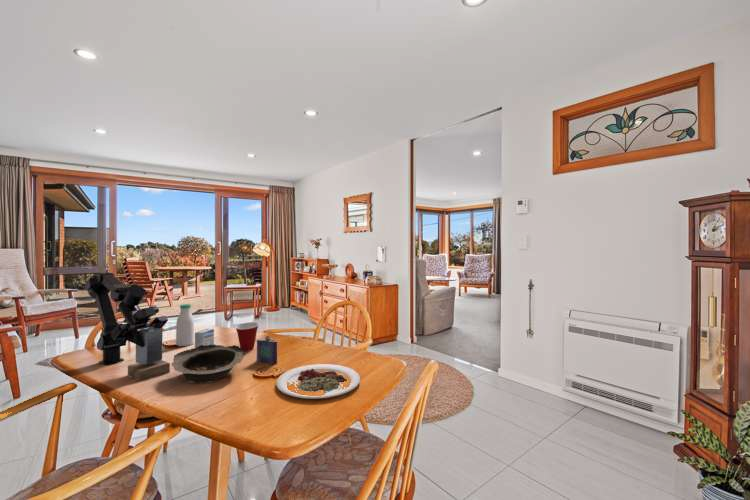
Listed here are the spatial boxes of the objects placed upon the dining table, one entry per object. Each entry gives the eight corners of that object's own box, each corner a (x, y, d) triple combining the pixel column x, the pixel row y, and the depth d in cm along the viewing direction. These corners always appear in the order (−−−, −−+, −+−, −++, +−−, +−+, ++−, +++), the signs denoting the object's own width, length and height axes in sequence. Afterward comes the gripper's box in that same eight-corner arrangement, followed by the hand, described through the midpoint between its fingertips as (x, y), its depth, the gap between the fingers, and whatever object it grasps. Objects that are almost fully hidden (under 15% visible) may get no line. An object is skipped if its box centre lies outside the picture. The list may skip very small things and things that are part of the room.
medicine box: (202, 351, 152) (202, 332, 152) (194, 350, 153) (194, 332, 153) (214, 346, 160) (214, 328, 160) (206, 345, 161) (206, 328, 161)
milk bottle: (197, 343, 164) (197, 304, 164) (181, 347, 157) (181, 306, 157) (188, 341, 168) (189, 302, 168) (172, 344, 161) (173, 304, 161)
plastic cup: (231, 348, 157) (231, 324, 157) (253, 344, 164) (253, 320, 164) (239, 354, 149) (239, 328, 149) (262, 349, 156) (262, 324, 156)
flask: (255, 361, 140) (255, 335, 140) (259, 359, 143) (260, 333, 143) (274, 365, 136) (275, 337, 136) (279, 362, 139) (279, 335, 139)
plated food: (337, 410, 100) (337, 399, 100) (257, 393, 110) (257, 383, 110) (371, 375, 128) (371, 366, 128) (306, 364, 138) (306, 356, 138)
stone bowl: (214, 359, 141) (216, 338, 140) (256, 374, 130) (258, 352, 130) (155, 379, 119) (157, 354, 118) (199, 399, 108) (202, 372, 107)
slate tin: (135, 362, 123) (136, 330, 123) (151, 357, 129) (151, 327, 129) (146, 364, 121) (147, 332, 121) (162, 359, 127) (162, 328, 127)
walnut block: (127, 376, 123) (127, 365, 123) (156, 368, 132) (156, 358, 132) (140, 382, 118) (140, 371, 118) (169, 373, 127) (169, 363, 127)
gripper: (116, 303, 117) (137, 337, 114) (165, 296, 135) (184, 325, 131) (101, 323, 120) (121, 356, 116) (151, 313, 137) (170, 342, 134)
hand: (151, 344), depth 124 cm, fingers closed on slate tin, 6 cm apart
